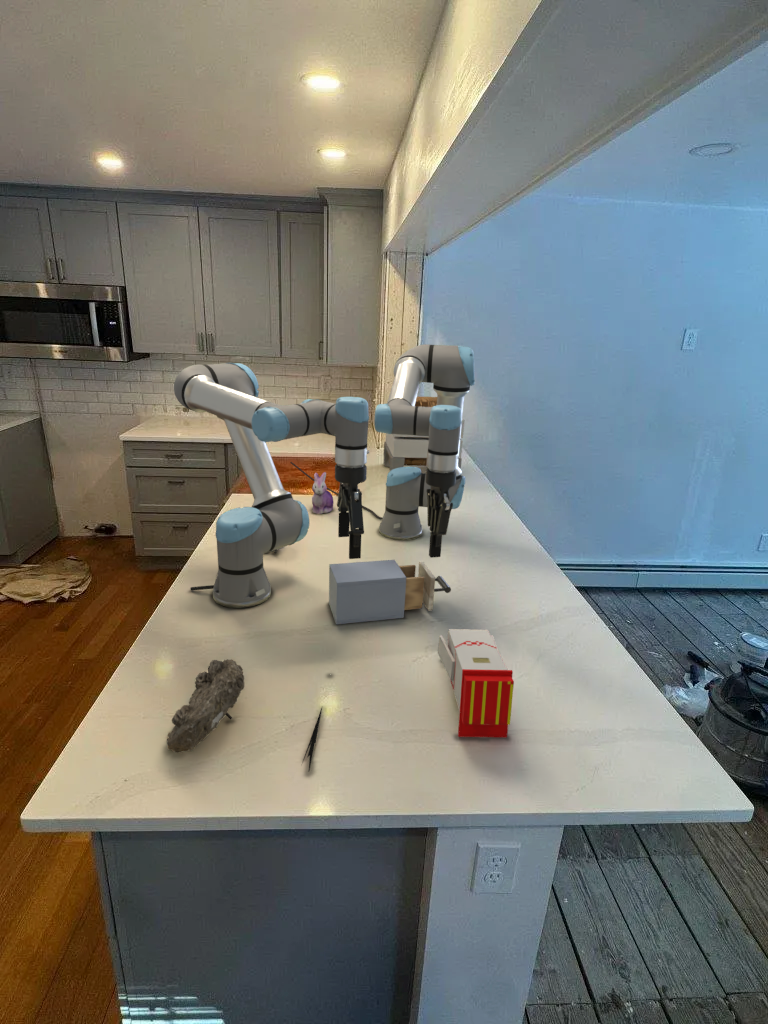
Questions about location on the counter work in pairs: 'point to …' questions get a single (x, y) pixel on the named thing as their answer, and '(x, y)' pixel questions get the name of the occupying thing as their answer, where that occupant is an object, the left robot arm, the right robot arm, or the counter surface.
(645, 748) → the counter surface
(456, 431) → the right robot arm
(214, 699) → the fossil
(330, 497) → the figurine
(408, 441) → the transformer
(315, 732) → the feather
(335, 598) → the cabinet
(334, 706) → the counter surface
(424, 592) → the drawer
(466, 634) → the toy
